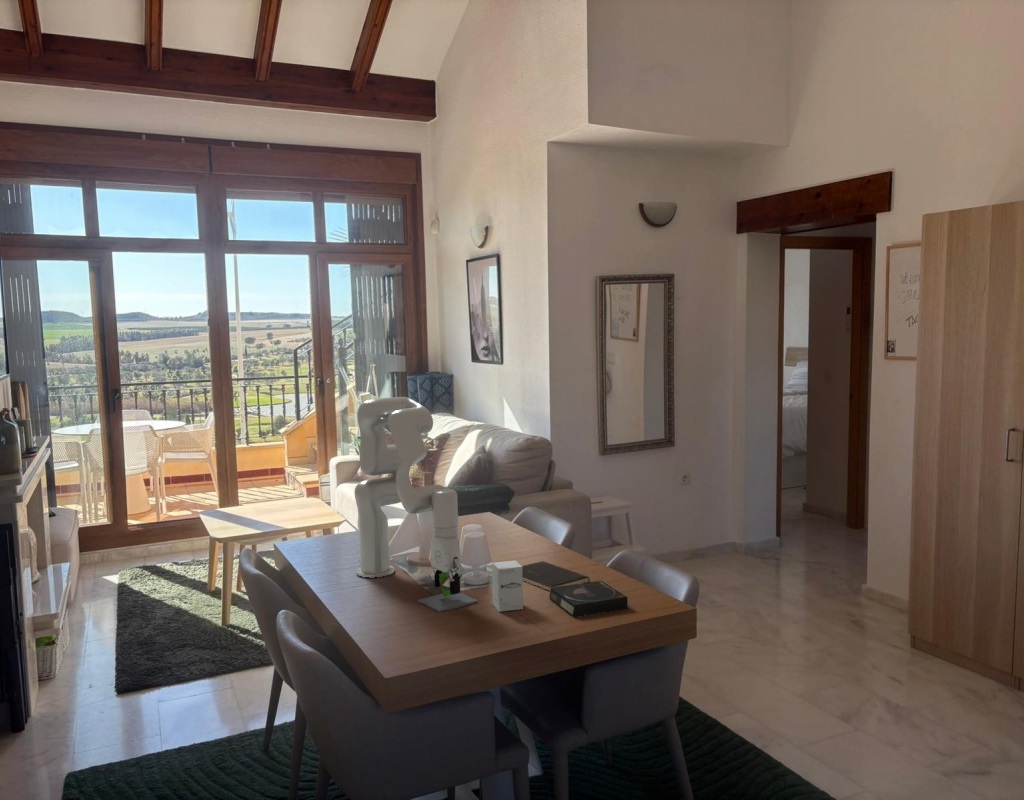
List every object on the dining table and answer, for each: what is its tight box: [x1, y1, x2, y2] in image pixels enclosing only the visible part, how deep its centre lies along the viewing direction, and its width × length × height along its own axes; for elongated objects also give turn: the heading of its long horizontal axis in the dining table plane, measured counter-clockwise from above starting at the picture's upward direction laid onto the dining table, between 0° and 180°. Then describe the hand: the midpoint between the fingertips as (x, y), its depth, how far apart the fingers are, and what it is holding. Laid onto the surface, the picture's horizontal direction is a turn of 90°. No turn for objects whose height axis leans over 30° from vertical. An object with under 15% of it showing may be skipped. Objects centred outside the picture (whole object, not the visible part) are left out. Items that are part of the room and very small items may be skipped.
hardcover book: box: [521, 560, 591, 592], centre depth 256 cm, size 16×23×2 cm
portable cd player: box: [548, 580, 629, 618], centre depth 230 cm, size 16×17×4 cm
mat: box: [417, 592, 478, 613], centre depth 235 cm, size 12×13×1 cm
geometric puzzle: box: [433, 572, 451, 597], centre depth 234 cm, size 7×7×8 cm
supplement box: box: [491, 560, 524, 613], centre depth 229 cm, size 7×7×13 cm
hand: (447, 589), depth 235 cm, fingers closed on geometric puzzle, 8 cm apart
